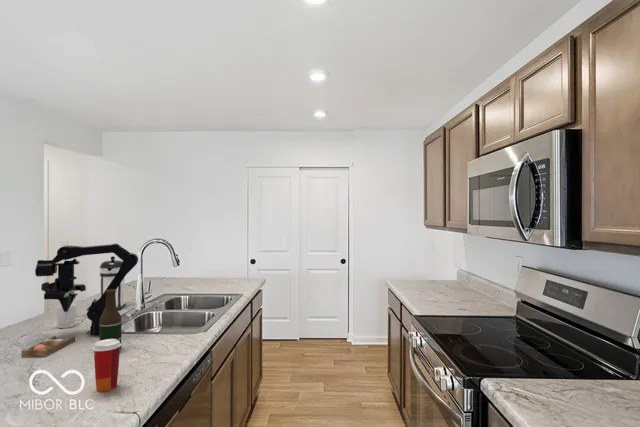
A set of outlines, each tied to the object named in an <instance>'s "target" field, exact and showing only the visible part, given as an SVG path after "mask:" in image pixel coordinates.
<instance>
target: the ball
mask: <svg viewBox="0 0 640 427" xmlns="http://www.w3.org/2000/svg"><path fill="white" fill-rule="evenodd" d="M36 345H37V344H36ZM34 346H35V345H34ZM34 349H46V347H45V346H44V345H42V344H40V345H37V346H35V347H34Z"/></svg>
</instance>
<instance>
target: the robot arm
mask: <svg viewBox="0 0 640 427" xmlns="http://www.w3.org/2000/svg"><path fill="white" fill-rule="evenodd" d="M100 254H101V255H102V254H103V255H104V254H114V255H115V256H116V257H117V258H119V260H120V259H121V260H120V261H123V262H122V264H121V267H120V269H119V271H118V273H117V274H116V276H115V277H114V279H113V280H112V282H111V283H110V284H109V286H108V287H107V289H106V290H108V289H115V290H116V289H117V288H118V286H119V285H120V283H121V282H122V280H123V279H124V277H126V276H127V275H128V274H129V273H130V272H131V271H132V270H133V269H134V268H135V267H136V266H137V264H138V262H139V255H137V254H136V253H134V252H133V253H132V252H130V251H128V249H125V248H124V247H122V246H121V244H118V243H112V244H101V245H89V246H81V245H64V246H62V247H60V248H58V250H57V252H56V255H55V256H54V257H53V258H52V259H47V260H46V259H45V260H43V259H38V260H37V262H36V266H35V271H34V272H35V276H36V277H53V276H54V275H55V274H57V277H56V278H55V279H54V282H48V281H47V282H43V283H41V288H40V289H41V291H42V292H44V294H43V300H57V301H59V303H60V305H61V306H62V308H63V310H64V312H67V311H68V310H69V308H70V306H71V304H73V302H74V301H75V298H76V297H77V296H78V295H79V294H78V293H75V292H76V291H80V292H85V291H86V290H87V288H86V287H87V286H86V285H85V284H83V283H75V280H77V276H75V265H79V264H80V263H81V262H80V261H79V260H77V258H79V257H83V256H93V255H100ZM71 259H72V260H71ZM61 261H63V262H61ZM124 280H125V279H124ZM106 290H105V292H106ZM105 292H104V293H103V295H102V296H101V297H100V296H99V298H98V299H96V298H94V299H93V300H92V302H91V304H90V305H89V306H88V307H87V309H86V311H87V312H86V318H87V319H88V320H89V321H91V325H90V327H89V328H90V332H89V334H90V335H91V336H94V337H95V336H96V337H99V333H100V317H101V315H102V313H103V312H104V311H105V305H106V293H105Z"/></svg>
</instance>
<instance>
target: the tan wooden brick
mask: <svg viewBox="0 0 640 427" xmlns="http://www.w3.org/2000/svg"><path fill="white" fill-rule="evenodd" d="M63 341H64V338H56V339H50V338H46V339H44V340H42V345H44V346H45V347H46V349H50V348H52V347H54V346H56V345H58V344H60V343H62V342H63Z"/></svg>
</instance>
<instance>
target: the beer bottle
mask: <svg viewBox="0 0 640 427" xmlns="http://www.w3.org/2000/svg"><path fill="white" fill-rule="evenodd" d="M105 293H106V305H105V310H104V312H103V313H102V315H101V317H100V333H99V336H98V337H99V338H98V339H99V341H102V340H106V339H117V340H119V341H120V343H121V344H122V324H123V323H122V322H123V321H122V315H121V314H120V312H119V311H118V309H117V308H116V296H115V293H116V290H115V289H108V290H106V292H105ZM120 350H122V345H121V346H120Z"/></svg>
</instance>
